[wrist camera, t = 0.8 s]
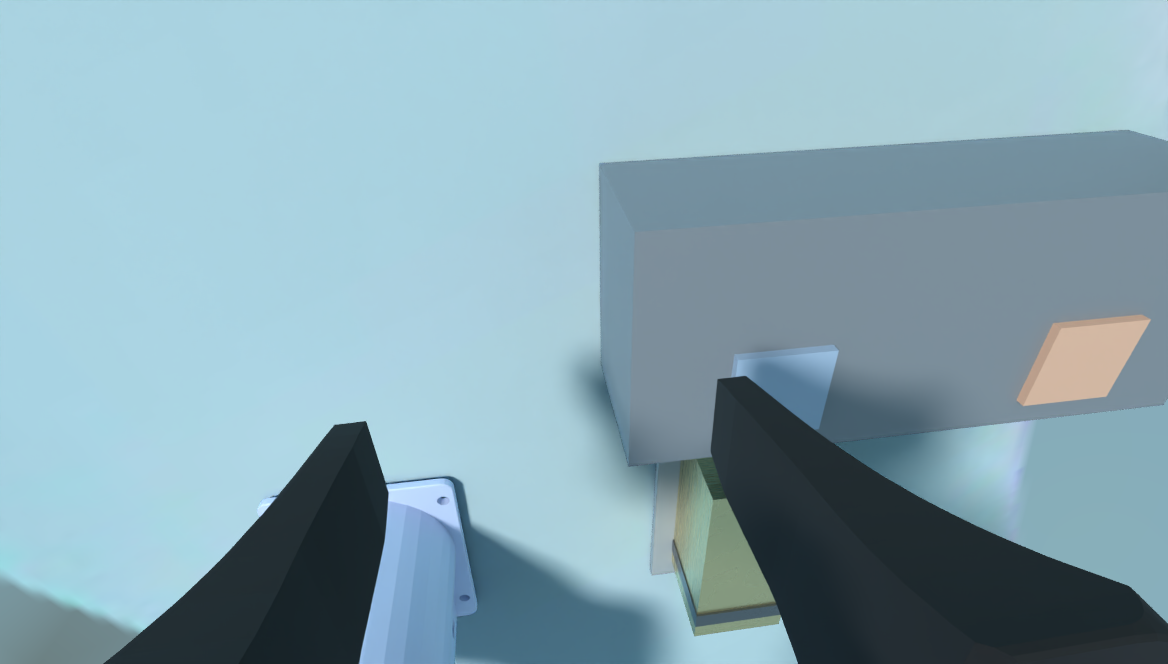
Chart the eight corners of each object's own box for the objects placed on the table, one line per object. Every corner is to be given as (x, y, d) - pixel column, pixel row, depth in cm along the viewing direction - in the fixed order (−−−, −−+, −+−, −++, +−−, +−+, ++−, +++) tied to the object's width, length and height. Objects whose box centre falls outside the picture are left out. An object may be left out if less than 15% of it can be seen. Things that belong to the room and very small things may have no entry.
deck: (778, 551, 32) (781, 558, 32) (649, 568, 31) (651, 575, 31) (817, 389, 26) (821, 395, 26) (659, 406, 25) (662, 412, 25)
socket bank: (1039, 321, 26) (1171, 410, 21) (600, 364, 24) (630, 473, 19) (1128, 129, 21) (1322, 185, 16) (599, 163, 19) (637, 237, 14)
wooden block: (748, 550, 31) (780, 625, 27) (670, 560, 30) (693, 638, 27) (774, 418, 26) (817, 489, 22) (682, 428, 26) (712, 502, 22)
